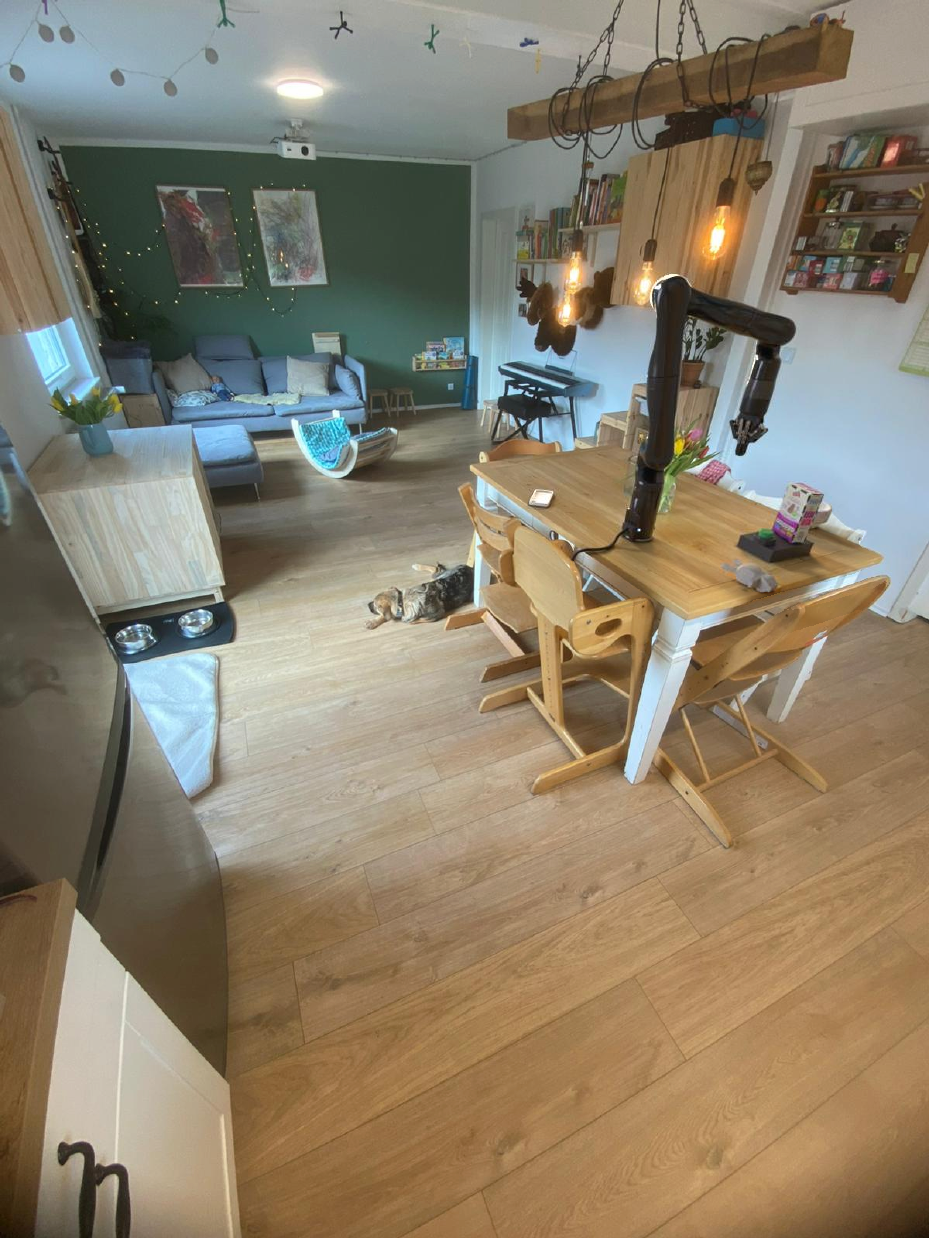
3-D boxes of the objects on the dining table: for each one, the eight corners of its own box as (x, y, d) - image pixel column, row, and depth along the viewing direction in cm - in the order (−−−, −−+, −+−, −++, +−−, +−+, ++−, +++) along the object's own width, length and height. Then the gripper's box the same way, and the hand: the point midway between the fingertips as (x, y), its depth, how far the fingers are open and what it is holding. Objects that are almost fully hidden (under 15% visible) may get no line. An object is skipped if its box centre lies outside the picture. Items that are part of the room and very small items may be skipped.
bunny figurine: (768, 585, 145) (721, 559, 155) (760, 600, 149) (715, 573, 158) (786, 577, 150) (740, 551, 159) (778, 591, 153) (733, 566, 162)
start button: (765, 540, 167) (767, 534, 166) (755, 535, 170) (757, 529, 169) (774, 538, 169) (776, 532, 167) (764, 533, 172) (766, 527, 171)
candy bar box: (805, 543, 170) (825, 494, 161) (790, 544, 169) (810, 494, 160) (784, 529, 179) (802, 482, 170) (770, 529, 178) (788, 482, 170)
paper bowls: (796, 533, 187) (804, 511, 182) (769, 516, 199) (776, 496, 195) (834, 531, 189) (843, 510, 185) (805, 515, 202) (813, 495, 197)
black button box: (767, 562, 166) (774, 545, 163) (735, 546, 176) (741, 529, 173) (809, 554, 173) (816, 537, 169) (775, 538, 183) (782, 522, 179)
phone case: (547, 507, 202) (553, 494, 214) (548, 503, 201) (553, 491, 214) (528, 504, 204) (535, 492, 216) (529, 501, 203) (535, 489, 215)
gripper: (730, 392, 158) (714, 450, 167) (766, 400, 148) (747, 462, 157) (749, 390, 160) (731, 448, 170) (786, 399, 150) (765, 460, 159)
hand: (739, 455), depth 163 cm, fingers closed
